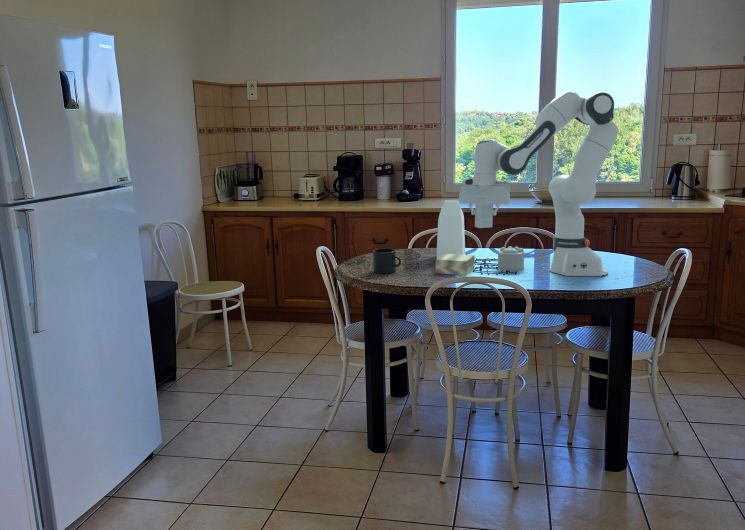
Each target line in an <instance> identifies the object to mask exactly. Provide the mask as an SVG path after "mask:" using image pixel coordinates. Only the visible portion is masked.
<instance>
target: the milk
mask: <svg viewBox="0 0 745 530" xmlns="http://www.w3.org/2000/svg"><path fill="white" fill-rule="evenodd" d="M460 204H461V203H460V201H459V200H444V203H443V204H442V206H441V210H440V212H439V216H438V219H437V220H438V221H437V238H436V239H437V240H436V241H437V242H436V257H435V258H439V257H440V256H442V255H444V254H459V255H466V239H465V238H466V237H465V234H466V233H465V217H464V212H463V210H462V207H461V205H460Z"/></svg>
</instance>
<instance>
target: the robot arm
mask: <svg viewBox="0 0 745 530" xmlns="http://www.w3.org/2000/svg"><path fill="white" fill-rule="evenodd" d="M614 110H615V100H614V98H613V97H612V95H610V94H609V93H608V92H605V91H597V92H595V93H592V94H590V95H588V96H586V97H581V96H580V95H579V94H578V93H576V92H575V91H572V90H566V91H564V92H563V93H561V94H559V95H558V96H556V97H555V98H554V99H552V100H551V101H550V102H549V103H547V105H545V106H544V107H543V109H541V110H540V112H539V113H538V114H537V116H536V118H535V120H534V123H535V128H534V130H533V131H532V132H531V134H529V135H528V136H527V137H526V138H525V139H524V140H523V141H522V142H521V143H520V144H519V145H517V146H516V147H515V146H514V147H508V146H506V145H504V144H502V143H500V142H498V141H497V140H496V139H495V138H490V139H483V140H480V141H478V142H477V144H476V145H475V150H474V161H473V162H474V172H473V176H469V177H468V178H464V179H463V180H462V186H461V187H460V189H459V190H460V191H459V197H458V202H459V204H468V207H469V210H470V211H471V216H472V215H473V216H475V209H474V208H473V205H475V204H477V203H478V198H486V203H487V204H493V205H495V207H496V208H495V210H493V212H492V213H493V214H492V215H493V216H497V211H498V210H499V209H500V205H508V204H510V202H511V195H510V194H511V193H510V192H511V190H512V184H511V182H508V181H507V180H497V171H500V172H503V173H506V174H508V175H511V176H514V175H519V174H521V173H523V172H524V171H525V170H526V168H527V166H528V164H529V162H530V160H531V158H532V157H533V156H534V154H536V153H537V152H538V151H539V150H540V149H541V147H543V146H544V145H545V144H547V141H548V140H550V139H551V138H552V137H553V136H555V135H556V134H557V133H559V132H560V131H561V130H562V129H564V128H565V127H566V126H567V125H569V123H570V122H572V120H574V119H575V120H576V121H578V122H579V123H581V124H583V125H586V126H589V128H588V132H587V134H586V136H585V138H584V140H582V143H581V145H580V146H579V147H578V150H576V151H577V152H576V153H575V154H574V157H573V161H574V162H573V167H572V171H571V172H570V174H561V175H557V176H554V177H553V178H552V179H551V180H550V181H549V184H548V192H549V194H550V196H551V198H552V203H553V209H554V215H555V231H554V232H555V234H554V237H553V242H552V243H553V244H552V245H553V246H552V249H553V256H552V262H551V265H550V268H549V272H552V273H554V274H559V275H562V276H567V277H603V276H602V275H605V276H607V275H608V274H607V273H608V269H607V268H605V267H603V262H602V259H601V257H600V255H599V254H598V253H596V252H595V251H594V250H592V249H591V248H590V247H589V246H590V243H591V242H590V240H589V239H588V238H586V237H585V236H584V235H585V234H584V233H585V232H584V231H585V217H584V214H583V213H582V209H581V205H585V204H589V203H590V202H592V201H593V199H594V198H595V197H596V195H597V187H596V183H597V179H598V176H599V173H600V171H601V169H602V166H603V164H604V163H605V161H606V159H607V158H608V156H609V154H610V152H611V150H612V149H613V146H615V142H616V140H617V137H618V134H619V127H618V126H617V124H616V123H615V122H614V121H613V119H614V116H615V115H614V114H615V113H614ZM606 274H607V275H606Z"/></svg>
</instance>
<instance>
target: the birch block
mask: <svg viewBox="0 0 745 530" xmlns="http://www.w3.org/2000/svg"><path fill="white" fill-rule="evenodd" d="M475 260H476V258H475V255H471V254H465V255H459V254H444V255H442V256H440V257H439V258H437V259H435V273H436V274H447V275H461V276H467V275H468V274H470V273H472V271H474V270H475V269H476V268H475V267H476V266H475V264H476V263H475V262H476V261H475ZM469 272H470V273H469Z"/></svg>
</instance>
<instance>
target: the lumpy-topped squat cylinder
mask: <svg viewBox="0 0 745 530" xmlns="http://www.w3.org/2000/svg"><path fill="white" fill-rule="evenodd" d="M523 268H524V269H525V251H524V248H523V247H518V246H515V247H513V246H512V245H511V246H508V247H507V248H506V247H504V246H503V247H502V246H501V248H500V249H499V250H498V252H497V269H498V270H499V269H501V270H500V271H509V270H512V271H511V272H519V271H518V270H520V271H522V270H524V269H523Z"/></svg>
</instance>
